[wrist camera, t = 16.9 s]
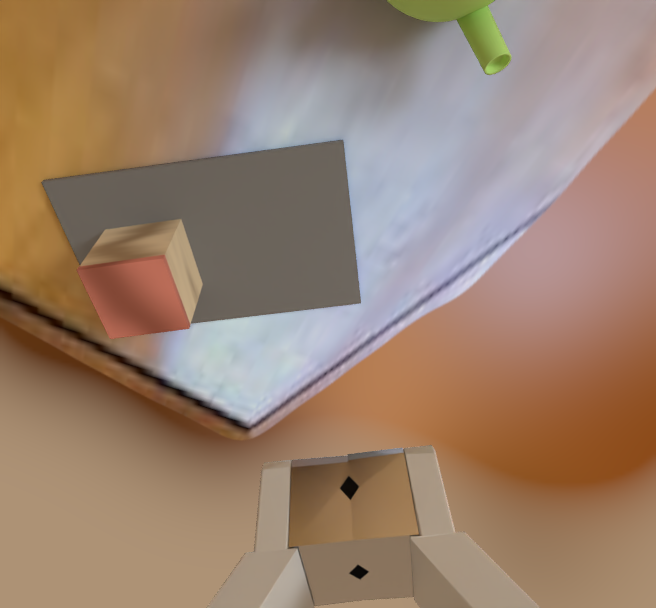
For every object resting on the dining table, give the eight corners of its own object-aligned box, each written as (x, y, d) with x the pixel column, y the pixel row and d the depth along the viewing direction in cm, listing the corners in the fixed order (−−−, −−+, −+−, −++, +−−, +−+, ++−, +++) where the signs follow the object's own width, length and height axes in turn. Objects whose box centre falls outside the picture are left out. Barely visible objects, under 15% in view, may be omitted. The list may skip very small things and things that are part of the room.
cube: (76, 270, 35) (105, 229, 40) (109, 338, 39) (132, 293, 44) (163, 258, 35) (181, 218, 40) (189, 328, 38) (202, 284, 43)
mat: (343, 139, 37) (343, 141, 37) (360, 300, 45) (360, 303, 45) (43, 180, 38) (41, 182, 38) (112, 330, 46) (111, 332, 46)
